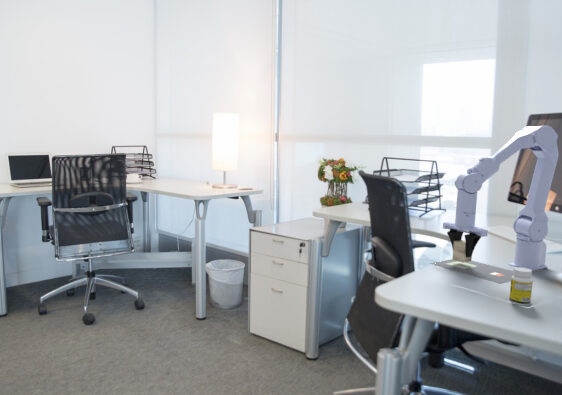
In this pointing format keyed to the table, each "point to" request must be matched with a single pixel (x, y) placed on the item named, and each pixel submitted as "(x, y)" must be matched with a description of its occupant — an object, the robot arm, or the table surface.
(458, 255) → the birch block
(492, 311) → the table surface
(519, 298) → the supplement bottle
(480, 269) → the mat
